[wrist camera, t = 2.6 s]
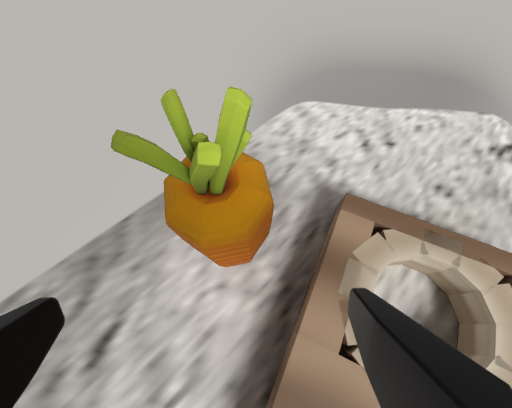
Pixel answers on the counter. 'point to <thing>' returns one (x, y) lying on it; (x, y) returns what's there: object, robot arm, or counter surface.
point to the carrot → (210, 182)
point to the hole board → (364, 276)
